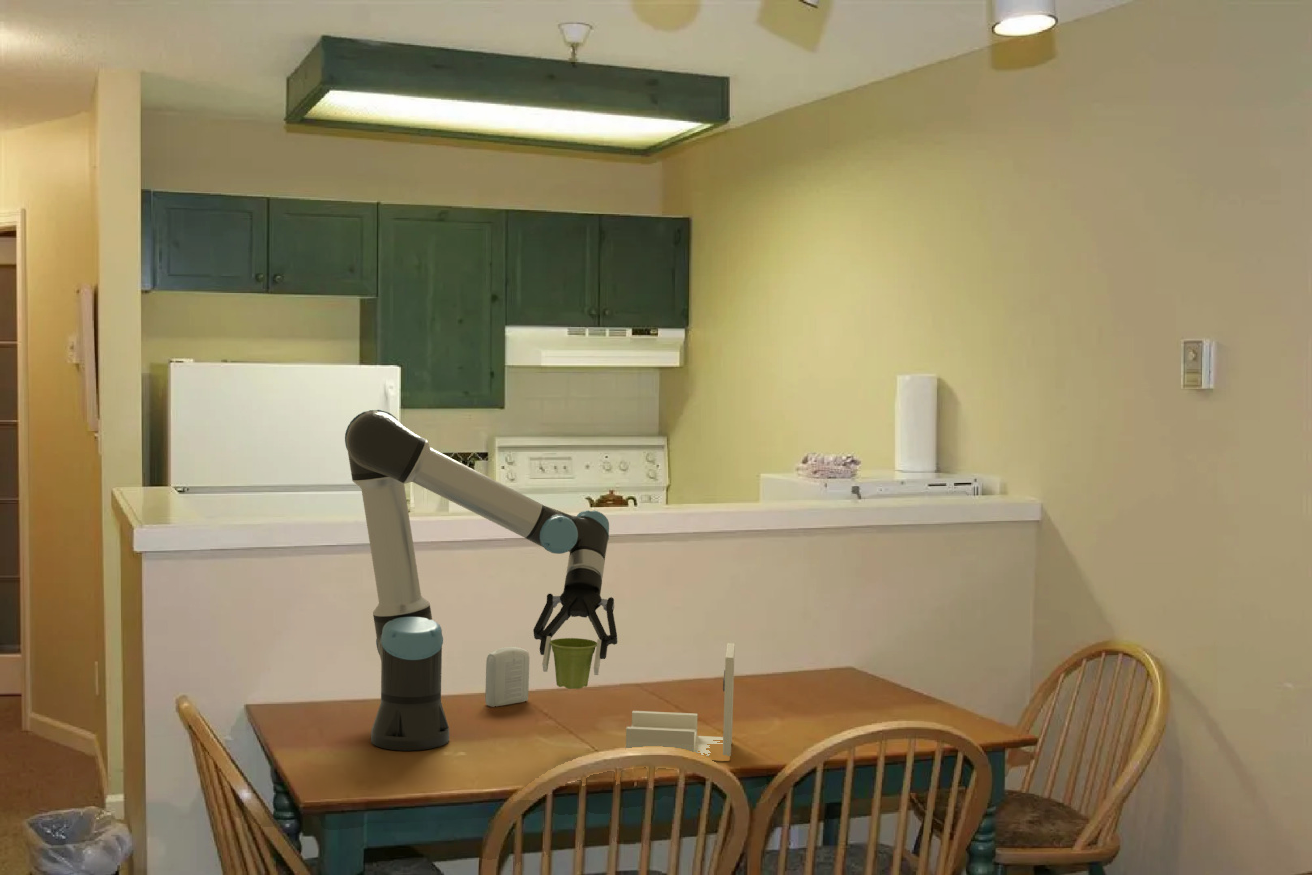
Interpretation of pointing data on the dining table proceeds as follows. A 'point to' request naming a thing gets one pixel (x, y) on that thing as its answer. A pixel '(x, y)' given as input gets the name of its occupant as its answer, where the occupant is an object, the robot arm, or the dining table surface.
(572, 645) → the plant pot
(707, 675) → the dining table surface
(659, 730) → the bracket shelf
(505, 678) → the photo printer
